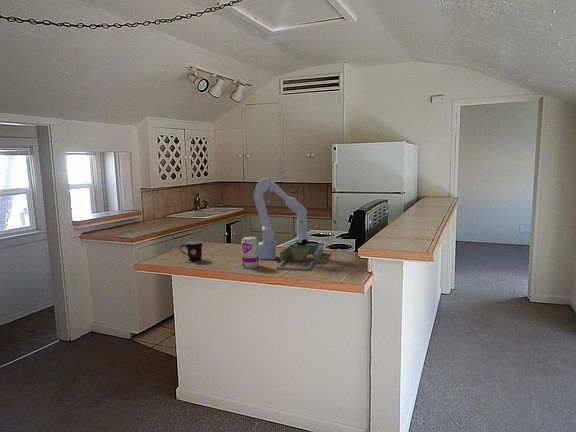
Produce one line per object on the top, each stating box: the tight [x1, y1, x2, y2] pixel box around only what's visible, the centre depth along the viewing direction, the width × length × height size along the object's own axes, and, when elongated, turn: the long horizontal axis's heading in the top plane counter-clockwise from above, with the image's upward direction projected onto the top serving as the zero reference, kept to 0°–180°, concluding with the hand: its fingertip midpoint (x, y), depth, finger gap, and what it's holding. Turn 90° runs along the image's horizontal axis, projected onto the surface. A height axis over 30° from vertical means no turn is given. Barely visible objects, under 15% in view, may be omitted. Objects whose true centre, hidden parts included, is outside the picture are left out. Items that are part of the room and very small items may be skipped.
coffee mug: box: [179, 240, 203, 263], centre depth 235 cm, size 12×9×10 cm
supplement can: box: [240, 236, 259, 269], centre depth 218 cm, size 8×8×15 cm
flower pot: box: [291, 245, 309, 262], centre depth 229 cm, size 10×10×7 cm
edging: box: [276, 259, 315, 272], centre depth 217 cm, size 16×14×1 cm
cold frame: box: [279, 243, 324, 264], centre depth 235 cm, size 20×23×5 cm
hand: (302, 252), depth 235 cm, fingers closed
